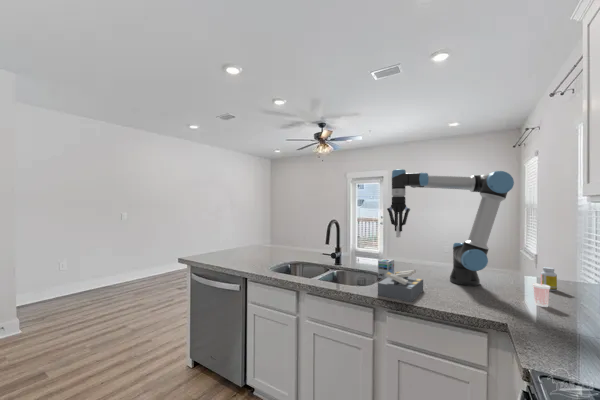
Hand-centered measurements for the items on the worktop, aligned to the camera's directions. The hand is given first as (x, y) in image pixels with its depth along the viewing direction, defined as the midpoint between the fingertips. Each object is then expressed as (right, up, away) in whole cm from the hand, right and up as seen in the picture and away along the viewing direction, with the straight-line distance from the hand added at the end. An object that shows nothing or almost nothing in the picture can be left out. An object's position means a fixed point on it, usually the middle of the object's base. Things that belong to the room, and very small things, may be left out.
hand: (398, 237), depth 162 cm
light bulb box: (-3, -27, +12) cm, 30 cm away
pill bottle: (+78, -27, -11) cm, 83 cm away
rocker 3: (-1, -17, -12) cm, 21 cm away
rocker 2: (-5, -17, -18) cm, 25 cm away
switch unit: (-5, -26, -18) cm, 32 cm away
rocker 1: (-9, -17, -24) cm, 31 cm away
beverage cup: (+53, -27, -35) cm, 69 cm away
